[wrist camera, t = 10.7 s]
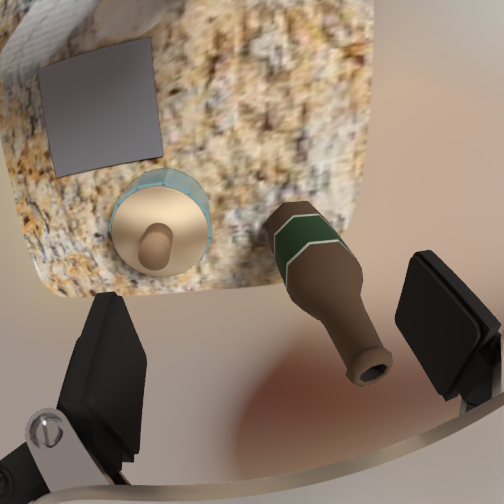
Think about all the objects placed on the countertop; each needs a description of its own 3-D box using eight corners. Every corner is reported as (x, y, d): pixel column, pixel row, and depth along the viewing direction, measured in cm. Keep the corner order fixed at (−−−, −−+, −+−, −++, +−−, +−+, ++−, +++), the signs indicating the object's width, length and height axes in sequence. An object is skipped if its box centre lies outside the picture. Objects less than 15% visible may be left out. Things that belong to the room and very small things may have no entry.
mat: (39, 69, 25) (38, 69, 25) (150, 37, 26) (150, 37, 26) (58, 176, 32) (56, 177, 32) (163, 155, 34) (163, 155, 33)
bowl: (113, 176, 34) (99, 192, 29) (204, 162, 35) (204, 176, 30) (132, 255, 40) (124, 280, 35) (214, 245, 40) (216, 269, 36)
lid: (102, 195, 29) (87, 215, 25) (200, 178, 30) (200, 196, 26) (127, 277, 35) (119, 305, 30) (214, 266, 36) (216, 294, 31)
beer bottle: (308, 257, 43) (380, 403, 23) (256, 243, 41) (304, 405, 21) (332, 208, 40) (437, 340, 20) (278, 189, 38) (362, 331, 17)
